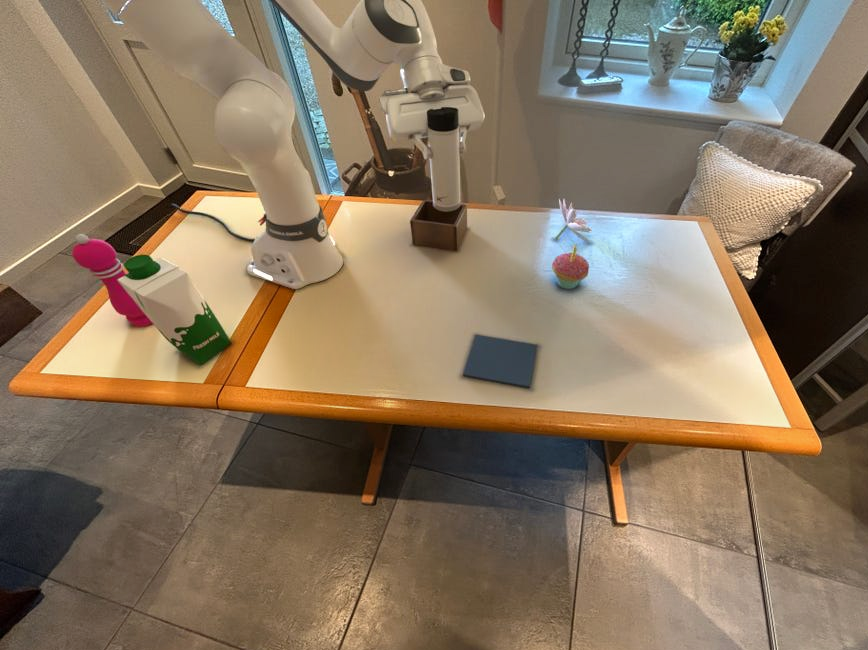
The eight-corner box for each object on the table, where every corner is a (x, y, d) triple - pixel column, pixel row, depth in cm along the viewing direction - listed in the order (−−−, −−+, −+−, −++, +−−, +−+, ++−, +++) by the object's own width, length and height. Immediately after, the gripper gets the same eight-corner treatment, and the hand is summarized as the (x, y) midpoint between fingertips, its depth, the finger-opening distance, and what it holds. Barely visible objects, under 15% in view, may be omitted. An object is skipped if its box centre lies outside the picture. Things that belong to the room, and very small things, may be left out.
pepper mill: (174, 310, 88) (111, 228, 73) (146, 332, 84) (74, 249, 68) (148, 302, 89) (82, 220, 74) (119, 323, 85) (43, 241, 70)
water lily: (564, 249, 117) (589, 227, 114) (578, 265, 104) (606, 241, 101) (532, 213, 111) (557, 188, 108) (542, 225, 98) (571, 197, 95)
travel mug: (440, 215, 89) (434, 115, 74) (429, 201, 93) (421, 104, 78) (465, 209, 91) (464, 110, 76) (453, 196, 95) (450, 99, 80)
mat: (462, 376, 77) (462, 374, 77) (475, 336, 84) (475, 334, 84) (529, 388, 75) (530, 386, 75) (536, 346, 82) (537, 344, 82)
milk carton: (211, 326, 85) (155, 244, 70) (239, 342, 82) (186, 261, 67) (172, 351, 80) (102, 270, 65) (200, 370, 77) (133, 289, 62)
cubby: (412, 244, 106) (409, 220, 100) (425, 222, 113) (423, 199, 107) (457, 251, 104) (456, 226, 99) (467, 228, 111) (466, 204, 106)
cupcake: (584, 296, 93) (596, 252, 84) (547, 291, 94) (555, 247, 85) (585, 274, 98) (596, 230, 89) (550, 269, 99) (558, 225, 90)
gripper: (377, 81, 75) (399, 156, 77) (476, 71, 81) (494, 140, 83) (375, 101, 81) (396, 169, 83) (467, 89, 87) (485, 154, 89)
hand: (446, 155), depth 83 cm, fingers closed on travel mug, 6 cm apart
